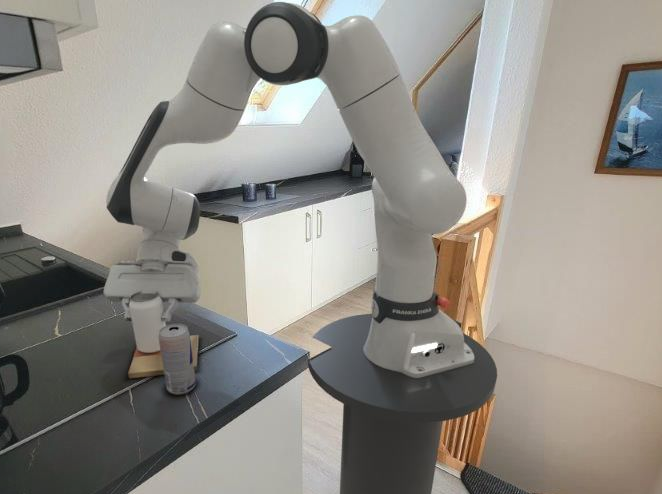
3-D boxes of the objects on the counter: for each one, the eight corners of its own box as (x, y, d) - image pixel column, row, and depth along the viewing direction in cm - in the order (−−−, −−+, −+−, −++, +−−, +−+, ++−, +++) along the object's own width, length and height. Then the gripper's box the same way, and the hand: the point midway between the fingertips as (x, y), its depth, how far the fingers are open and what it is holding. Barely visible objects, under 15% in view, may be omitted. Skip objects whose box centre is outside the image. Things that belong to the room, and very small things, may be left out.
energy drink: (195, 376, 79) (189, 321, 74) (196, 393, 74) (188, 335, 69) (167, 380, 78) (158, 325, 73) (165, 397, 73) (156, 339, 68)
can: (132, 346, 88) (122, 295, 83) (160, 336, 92) (152, 287, 87) (145, 357, 83) (135, 304, 79) (173, 346, 87) (166, 295, 83)
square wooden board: (198, 339, 92) (198, 334, 92) (196, 371, 81) (196, 365, 80) (139, 345, 91) (139, 340, 90) (129, 378, 79) (127, 372, 78)
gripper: (105, 254, 87) (91, 315, 82) (198, 254, 86) (190, 316, 81) (118, 267, 93) (106, 324, 88) (205, 267, 92) (198, 325, 87)
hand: (147, 320), depth 84 cm, fingers closed on can, 6 cm apart
